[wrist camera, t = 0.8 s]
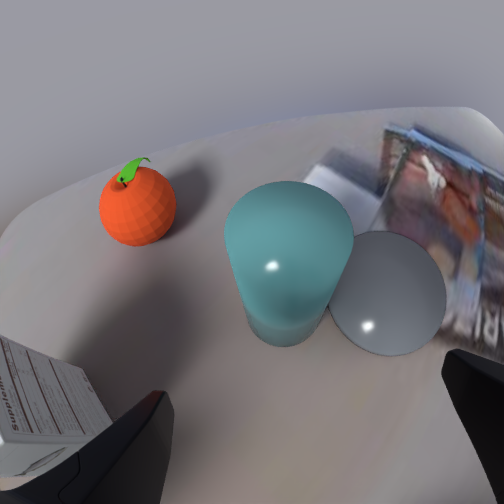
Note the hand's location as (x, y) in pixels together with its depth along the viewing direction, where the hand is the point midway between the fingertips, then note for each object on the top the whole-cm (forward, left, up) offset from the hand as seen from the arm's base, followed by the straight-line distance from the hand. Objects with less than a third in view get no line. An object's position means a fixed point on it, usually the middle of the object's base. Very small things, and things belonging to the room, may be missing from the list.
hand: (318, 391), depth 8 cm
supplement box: (+7, +17, -13) cm, 22 cm away
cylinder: (+6, -3, -13) cm, 14 cm away
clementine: (+20, +2, -13) cm, 24 cm away
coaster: (+2, -11, -13) cm, 17 cm away
